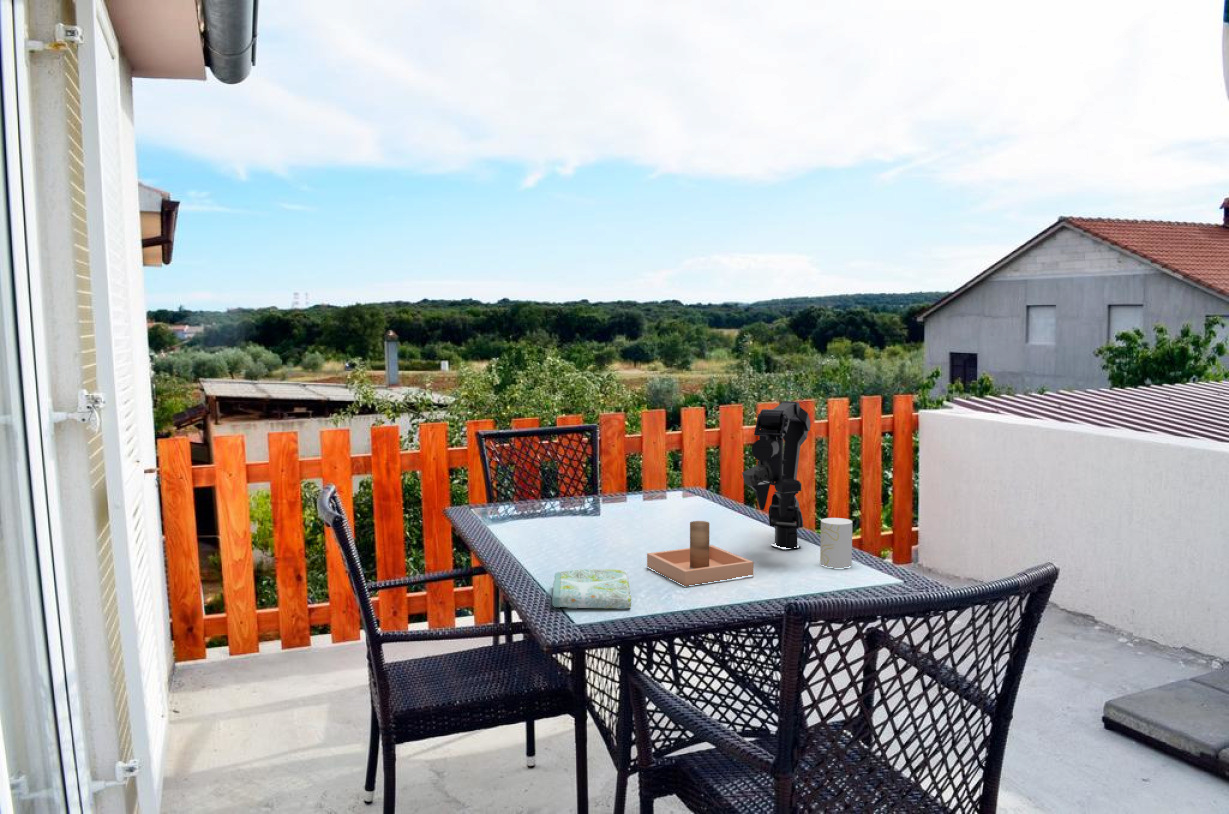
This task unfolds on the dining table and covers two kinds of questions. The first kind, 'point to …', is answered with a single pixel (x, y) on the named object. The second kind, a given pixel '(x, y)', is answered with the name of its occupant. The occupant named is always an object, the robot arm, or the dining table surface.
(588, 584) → the towel
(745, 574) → the bin
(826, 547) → the light grey cylinder
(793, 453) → the robot arm
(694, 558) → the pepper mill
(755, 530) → the dining table surface
